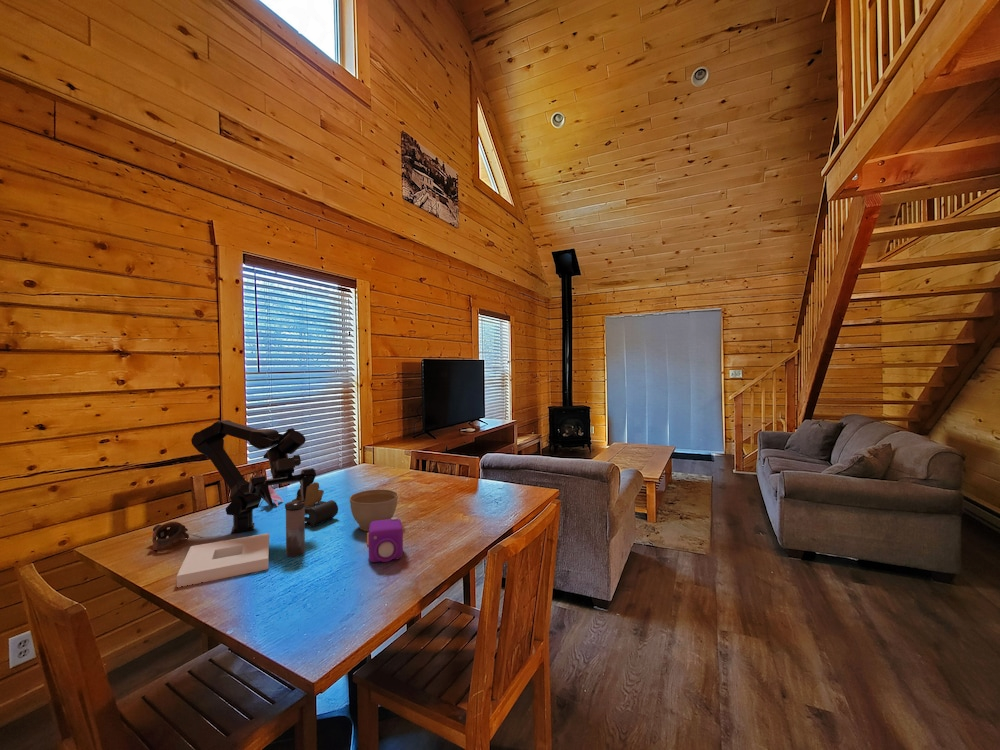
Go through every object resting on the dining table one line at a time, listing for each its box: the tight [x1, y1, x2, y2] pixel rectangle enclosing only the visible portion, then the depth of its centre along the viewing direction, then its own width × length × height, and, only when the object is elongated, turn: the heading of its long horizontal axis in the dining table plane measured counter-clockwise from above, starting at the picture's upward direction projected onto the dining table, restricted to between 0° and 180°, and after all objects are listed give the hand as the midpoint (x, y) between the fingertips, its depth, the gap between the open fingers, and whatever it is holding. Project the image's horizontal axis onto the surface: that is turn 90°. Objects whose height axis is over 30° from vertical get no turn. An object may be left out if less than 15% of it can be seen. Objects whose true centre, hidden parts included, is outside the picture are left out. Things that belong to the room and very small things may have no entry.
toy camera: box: [366, 516, 404, 563], centre depth 119 cm, size 11×14×10 cm
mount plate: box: [176, 532, 270, 588], centre depth 116 cm, size 20×20×3 cm
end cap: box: [305, 499, 339, 528], centre depth 147 cm, size 10×7×7 cm
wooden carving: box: [291, 481, 325, 507], centre depth 163 cm, size 16×5×10 cm, turn 172°
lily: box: [258, 485, 284, 508], centre depth 166 cm, size 12×12×10 cm
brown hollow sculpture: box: [151, 521, 190, 551], centre depth 128 cm, size 12×10×8 cm
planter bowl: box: [349, 488, 399, 532], centre depth 143 cm, size 16×16×11 cm
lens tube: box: [284, 500, 306, 558], centre depth 122 cm, size 5×5×15 cm
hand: (288, 503), depth 128 cm, fingers open, 9 cm apart
